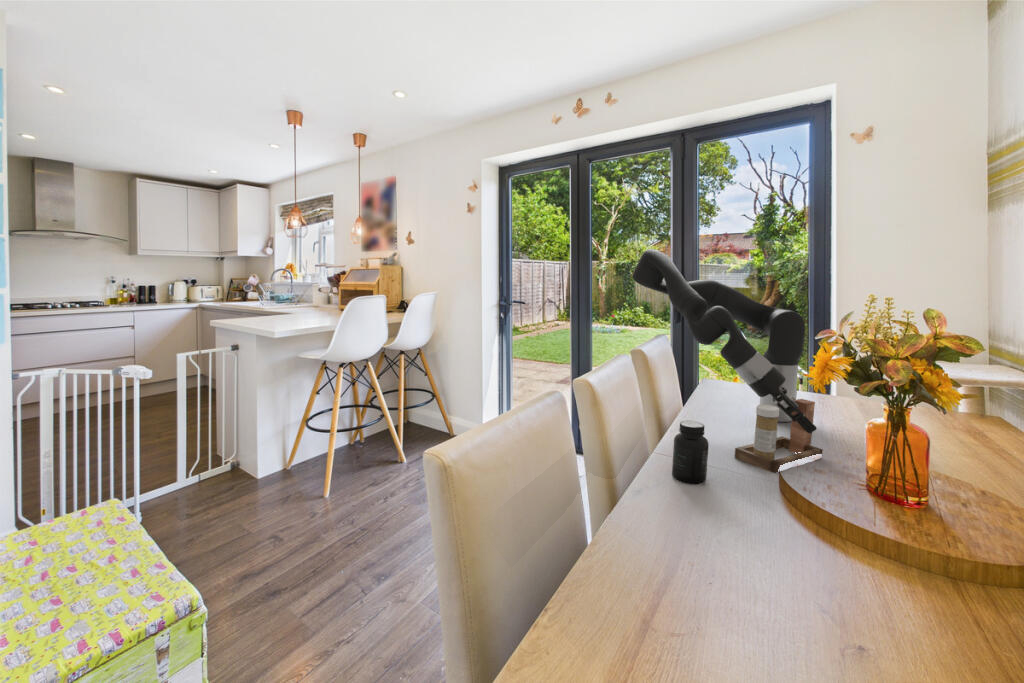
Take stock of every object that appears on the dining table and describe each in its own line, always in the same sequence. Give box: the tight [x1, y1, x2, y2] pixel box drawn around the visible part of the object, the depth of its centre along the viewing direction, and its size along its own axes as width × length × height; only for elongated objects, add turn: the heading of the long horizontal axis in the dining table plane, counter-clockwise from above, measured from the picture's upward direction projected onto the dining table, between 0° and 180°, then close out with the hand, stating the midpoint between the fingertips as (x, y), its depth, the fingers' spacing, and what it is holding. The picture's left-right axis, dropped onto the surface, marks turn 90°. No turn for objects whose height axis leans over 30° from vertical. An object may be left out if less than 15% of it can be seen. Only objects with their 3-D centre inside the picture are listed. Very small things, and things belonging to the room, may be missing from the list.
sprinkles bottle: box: [753, 404, 779, 460], centre depth 103 cm, size 5×5×13 cm
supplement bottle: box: [671, 420, 710, 486], centre depth 95 cm, size 7×7×12 cm
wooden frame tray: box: [734, 398, 824, 474], centre depth 106 cm, size 19×10×13 cm, turn 117°
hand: (811, 427), depth 108 cm, fingers open, 5 cm apart
